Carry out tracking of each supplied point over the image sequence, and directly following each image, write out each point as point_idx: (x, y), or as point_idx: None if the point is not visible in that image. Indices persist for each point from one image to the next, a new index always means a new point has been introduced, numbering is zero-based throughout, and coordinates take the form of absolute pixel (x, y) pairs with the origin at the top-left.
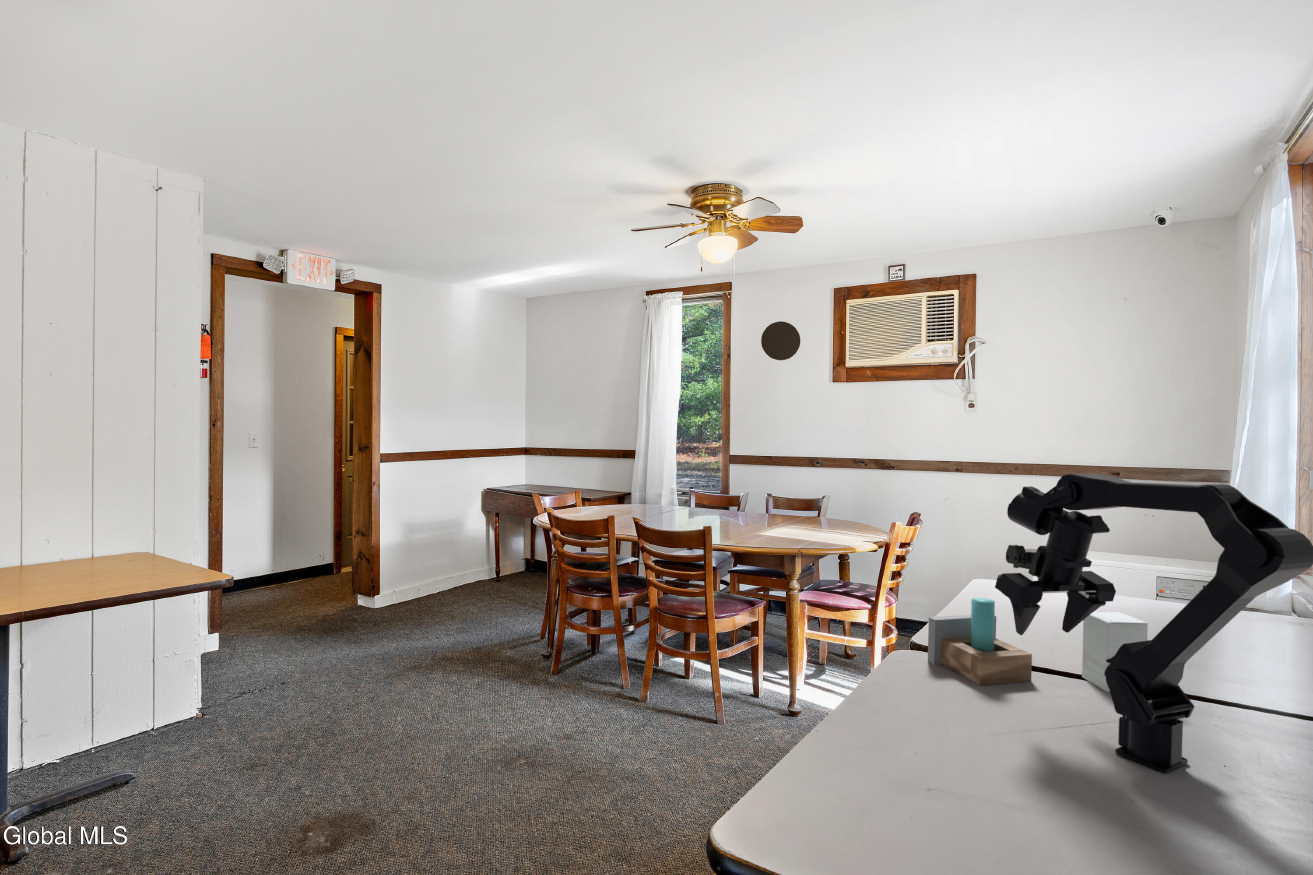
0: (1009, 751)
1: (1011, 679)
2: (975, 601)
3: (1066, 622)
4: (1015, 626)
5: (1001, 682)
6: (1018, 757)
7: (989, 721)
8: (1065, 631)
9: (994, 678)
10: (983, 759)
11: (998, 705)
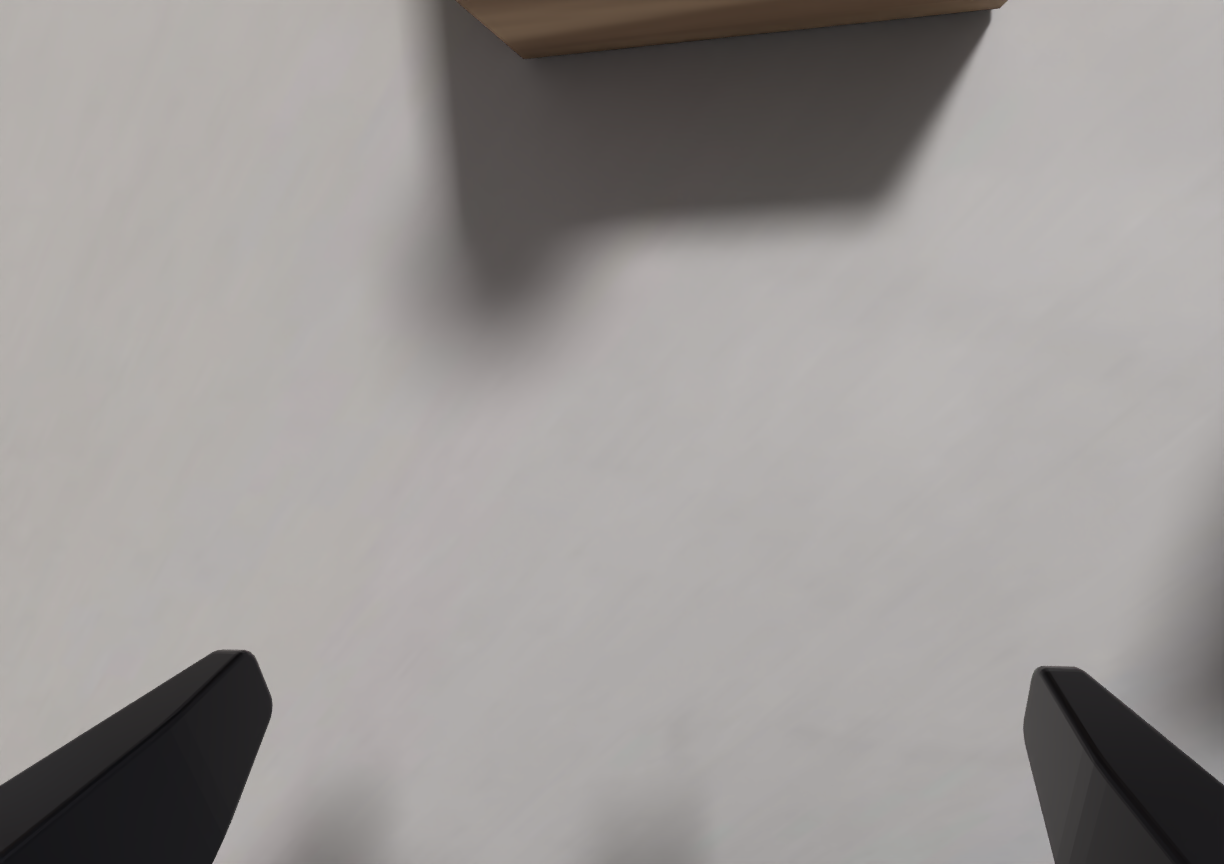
0: None
1: (804, 20)
2: None
3: (1090, 830)
4: (151, 691)
5: (709, 36)
6: None
7: (283, 545)
8: (1025, 722)
9: (639, 34)
10: None
11: (455, 372)
